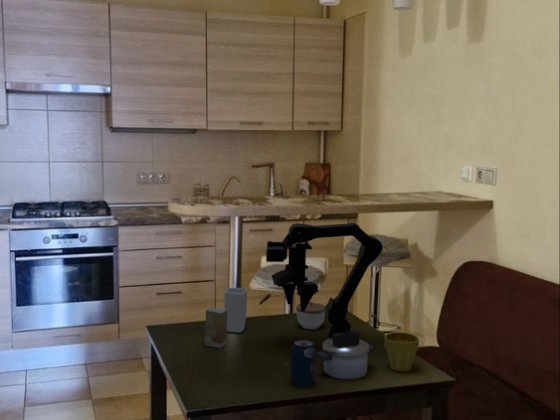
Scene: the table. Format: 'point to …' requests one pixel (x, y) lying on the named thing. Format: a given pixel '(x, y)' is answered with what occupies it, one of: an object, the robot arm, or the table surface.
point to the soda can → (303, 363)
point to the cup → (236, 309)
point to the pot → (345, 365)
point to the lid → (346, 344)
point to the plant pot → (401, 350)
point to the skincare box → (216, 327)
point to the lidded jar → (311, 315)
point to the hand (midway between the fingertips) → (295, 307)
